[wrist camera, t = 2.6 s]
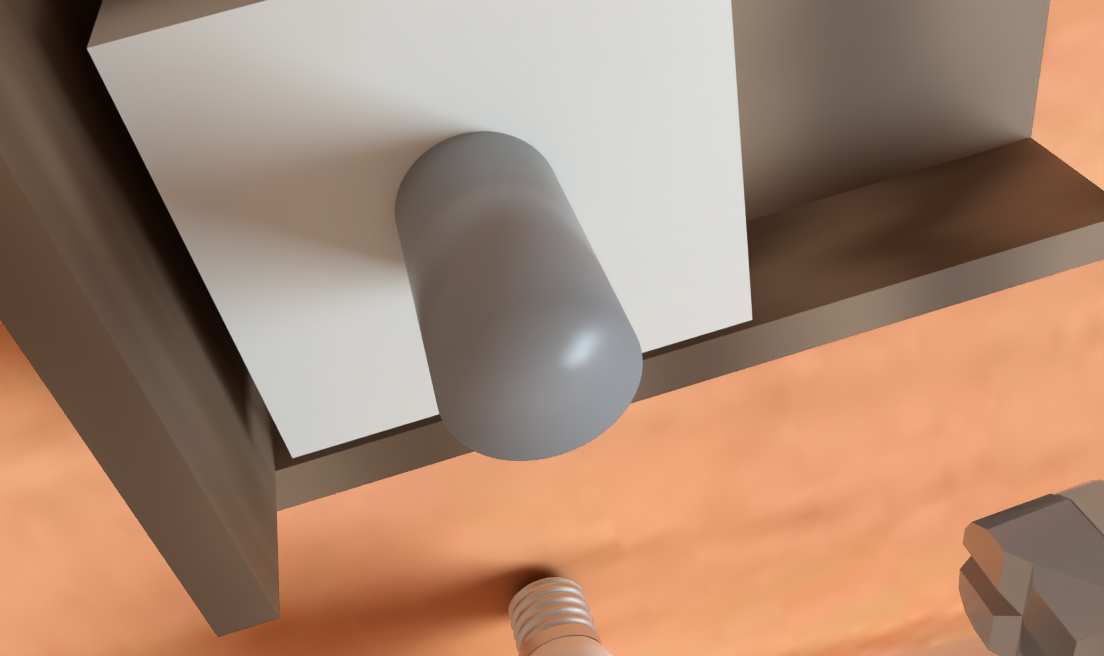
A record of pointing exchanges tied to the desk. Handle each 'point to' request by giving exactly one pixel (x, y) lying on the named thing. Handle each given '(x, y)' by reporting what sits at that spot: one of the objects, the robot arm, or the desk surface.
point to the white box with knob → (444, 199)
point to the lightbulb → (554, 620)
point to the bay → (775, 331)
